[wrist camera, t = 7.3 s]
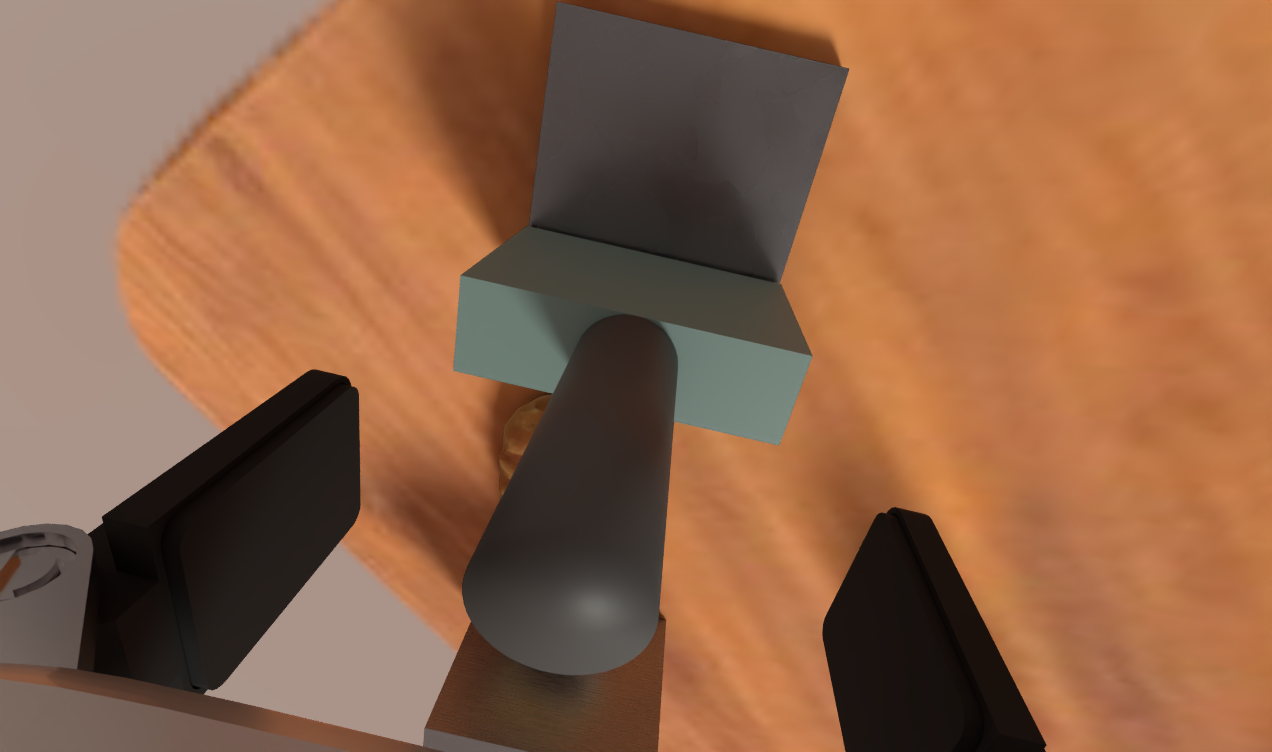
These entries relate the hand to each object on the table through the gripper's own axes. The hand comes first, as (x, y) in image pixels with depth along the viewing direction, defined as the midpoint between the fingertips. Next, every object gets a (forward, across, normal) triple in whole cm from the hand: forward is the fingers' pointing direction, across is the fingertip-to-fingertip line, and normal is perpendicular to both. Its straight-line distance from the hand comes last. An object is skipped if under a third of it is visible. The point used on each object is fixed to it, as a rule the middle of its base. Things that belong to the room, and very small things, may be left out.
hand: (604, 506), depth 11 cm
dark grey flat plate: (+15, 0, -2) cm, 15 cm away
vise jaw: (+14, 0, +1) cm, 14 cm away
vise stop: (+15, 0, +21) cm, 26 cm away
